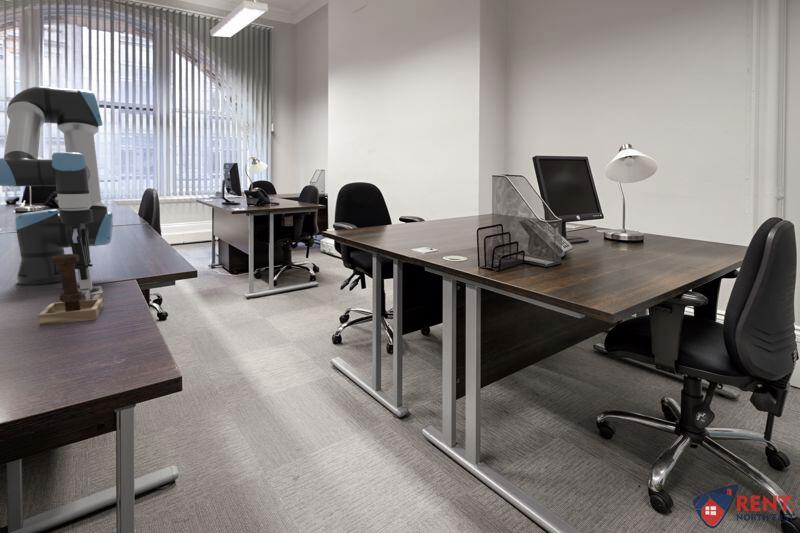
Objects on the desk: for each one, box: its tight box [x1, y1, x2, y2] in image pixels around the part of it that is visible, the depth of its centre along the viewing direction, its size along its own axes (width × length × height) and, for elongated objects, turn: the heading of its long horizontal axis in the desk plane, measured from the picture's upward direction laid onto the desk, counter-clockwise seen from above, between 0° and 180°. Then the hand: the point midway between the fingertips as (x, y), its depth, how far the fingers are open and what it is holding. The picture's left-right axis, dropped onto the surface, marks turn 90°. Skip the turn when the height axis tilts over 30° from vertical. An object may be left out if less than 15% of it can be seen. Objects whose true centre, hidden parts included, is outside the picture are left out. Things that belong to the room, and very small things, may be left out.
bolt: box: [52, 253, 83, 312], centre depth 115 cm, size 6×5×15 cm
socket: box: [37, 293, 105, 326], centre depth 121 cm, size 23×12×2 cm, turn 25°
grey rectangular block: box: [77, 288, 93, 300], centre depth 125 cm, size 6×4×4 cm, turn 25°
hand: (86, 289), depth 134 cm, fingers closed
